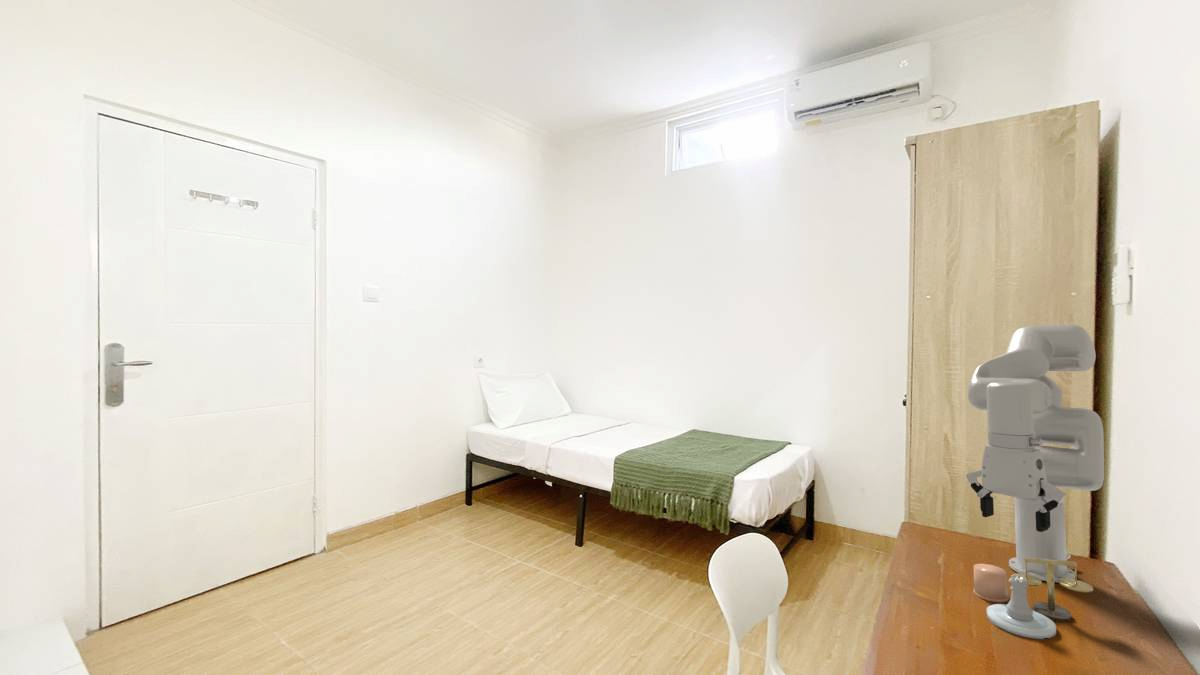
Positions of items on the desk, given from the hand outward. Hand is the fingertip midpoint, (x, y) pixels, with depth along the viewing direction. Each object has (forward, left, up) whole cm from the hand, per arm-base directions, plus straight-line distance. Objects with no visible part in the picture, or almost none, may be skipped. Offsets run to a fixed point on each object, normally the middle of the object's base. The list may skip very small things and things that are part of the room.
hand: (1014, 522), depth 105 cm
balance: (-9, +2, -20) cm, 23 cm away
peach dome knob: (-7, -9, -21) cm, 23 cm away
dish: (+1, +1, -20) cm, 20 cm away
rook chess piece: (0, +1, -19) cm, 19 cm away
